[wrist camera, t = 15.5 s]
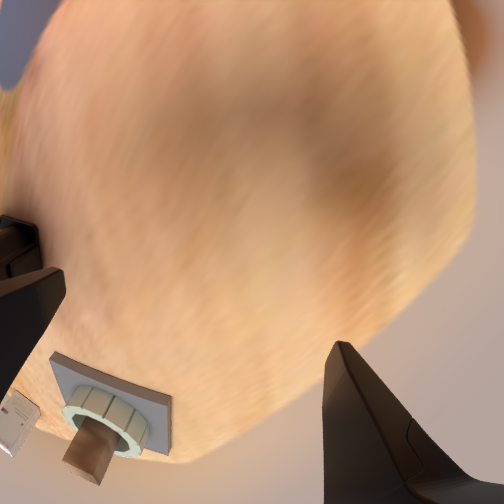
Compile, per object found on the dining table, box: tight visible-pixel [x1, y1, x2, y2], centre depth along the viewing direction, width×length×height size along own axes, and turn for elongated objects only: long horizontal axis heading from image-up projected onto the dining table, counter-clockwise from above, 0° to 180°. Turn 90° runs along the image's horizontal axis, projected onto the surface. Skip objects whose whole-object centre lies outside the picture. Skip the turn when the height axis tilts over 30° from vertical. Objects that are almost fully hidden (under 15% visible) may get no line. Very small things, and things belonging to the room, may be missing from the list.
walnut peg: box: [62, 415, 121, 485], centre depth 28 cm, size 4×4×10 cm
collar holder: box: [49, 352, 171, 458], centre depth 31 cm, size 16×14×5 cm
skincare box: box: [0, 391, 40, 458], centre depth 35 cm, size 6×4×12 cm
